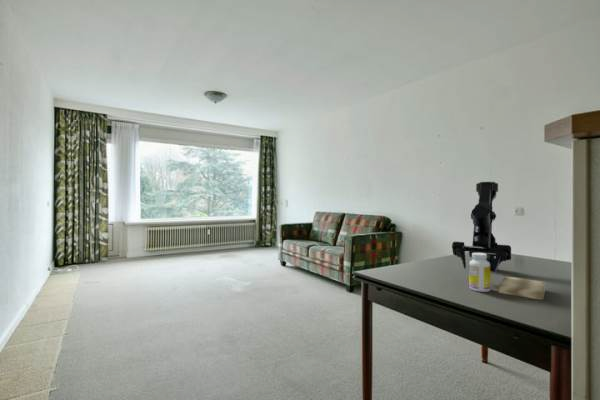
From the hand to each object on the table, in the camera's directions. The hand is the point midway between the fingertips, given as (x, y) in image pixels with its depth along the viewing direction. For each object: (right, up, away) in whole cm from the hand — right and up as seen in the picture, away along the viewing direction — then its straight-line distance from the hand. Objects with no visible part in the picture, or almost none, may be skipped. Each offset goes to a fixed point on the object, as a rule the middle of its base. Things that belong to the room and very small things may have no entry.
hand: (479, 269), depth 112 cm
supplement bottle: (+1, -7, +1) cm, 8 cm away
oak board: (+14, -7, -2) cm, 16 cm away
